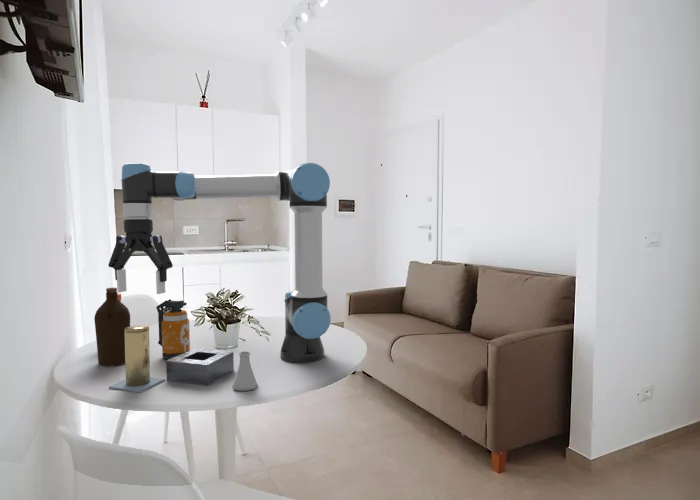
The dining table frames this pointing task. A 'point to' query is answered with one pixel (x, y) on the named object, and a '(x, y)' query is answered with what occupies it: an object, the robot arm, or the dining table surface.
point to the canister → (173, 328)
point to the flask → (244, 374)
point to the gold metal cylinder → (137, 355)
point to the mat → (140, 389)
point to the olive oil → (111, 330)
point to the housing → (200, 366)
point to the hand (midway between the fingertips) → (141, 292)
